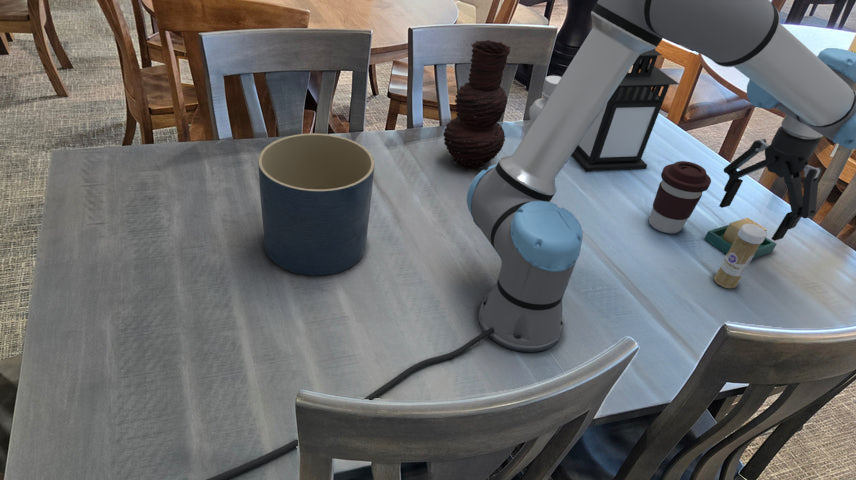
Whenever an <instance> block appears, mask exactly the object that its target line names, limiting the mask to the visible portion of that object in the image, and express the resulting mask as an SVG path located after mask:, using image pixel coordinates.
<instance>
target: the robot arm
mask: <svg viewBox="0 0 856 480" xmlns="http://www.w3.org/2000/svg"><path fill="white" fill-rule="evenodd" d="M590 16H591V21H592V28H591V30H590V32H589V33H588V35H587V36H586V38H585V40H584V41H583V43H582V44H581V45H580V47H579V49H578V50H577V52H576V54H575V55H574V57H573V59H572V60H571V62H570V63H569V65H568V67H567V68H566V70H565V71H564V73H563V74H562V76H561V77H562V78H561V79H560V81H559V82H558V84H557V86H556V87H555V89H554V90H553V92H552V94H551V95H550V97H549V98H548V100H547V102H546V103H545V105H544V106H543V108H542V109H541V111H540V113H539V114H538V116H537V117H536V119H535V121H534V122H533V124H532V125H531V127H530V129H529V130H528V132H527V133H526V135H525V137H524V138H523V137H522V139H523V140H521V141H520V143H519V144H518V146H517V148H516V149H515V151H514V152H513V154H511V155H507V156H503V157H501V158H500V159H499V161H498V162H497V163H496V164H492V165H489V166H487V169H482V170H481V171H480V172H479V173H478V174H477V175H475V177H474V178H473V180H472V182H470V185H469V187H468V190H467V193H466V205H467V209H468V212H469V213H470V215H471V217H472V219H473V222H474V224H475V226H476V227H477V228H479V229H480V231H481V232H482V233H483V235H484V236H485V238H486V239H487V241H488V242H489V244H490V246H491V247H492V248H493V249H494V250H495V252H496V253H497V255H498V257H499V258H500V260H501V264H500V269H499V273H498V278H497V281H496V283H495V284H494V286H493V287H492V288H491V289H490V291H489V292H488V293H487V294H486V296H485V297H484V299H483V300H482V302H481V304H480V308H479V312H478V322H479V326H480V327H481V329H482V333H480V334H479V335H477V336H475V337H474V338H472V339H470V340H469V341H468V342H466V343H465V344H464V345H462V346H460V347H459V348H456V349H455V350H453V351H451V352H448V353H445V354H440V355H438V356H434V357H433V356H432V357H430V358H427V359H424V360H421V361H419V362H417V363H415V364H413V365H411V366H410V367H408V368H407V369H405V370H403V371H402V372H400V373H399V374H397V376H395V377H394V378H392V379H391V380H389V381H388V382H386V383H384V385H381V387H379V388H377V389H376V390H374V391H373V392H372V393H370V394H369V395H367V396H366V397H364V398H363V399H369V400H372V401H373V400H375V399H376V398H377V397H378V398H379V396H380V395H382V394H383V393H385V392H387V391H388V390H390V389H391V388H392V387H394V386H395V385H396V384H398V383H399V382H401V381H402V380H403V379H405V378H406V377H408V376H409V375H411V374H412V373H414V372H415V371H418V370H419V369H422V368H424V367H426V366H429V365H432V364H436V363H439V362H444V361H447V360H450V359H453V358H455V357H457V356H459V355H461V354H463V353H465V351H467V350H469V349H471V347H473V346H474V345H476V344H477V343H479V342H480V341H482V340H483V339H486V338H487V337H488V338H490V340H492V341H493V342H495V343H496V344H498V345H500V346H502V347H504V348H506V349H509V350H511V351H516V352H521V353H538V352H543V351H546V350H549V349H550V348H552V347H554V346H555V345H557V343H558V342H559V340H560V338H561V335H562V332H563V330H564V317H563V298H564V295H565V293H566V290H567V287H568V285H569V282H570V280H571V277H572V274H573V271H574V268H575V266H576V263H577V261H578V258H579V256H580V254H581V247H582V242H583V236H584V234H583V233H584V232H583V229H582V226H581V223H580V222H579V220H578V219H577V217H576V215H574V214H573V213H572V212H570V211H569V209H566V208H565V207H559V206H558V204H556V203H555V202H551V201H552V199H553V198H554V196H555V195H556V194H557V186H556V182H555V181H556V178H557V176H558V175H559V174H560V172H561V171H562V169H563V168H564V167H565V165H566V164H567V162H568V161H569V159H570V158H571V157H572V156H571V155H572V153H573V152H574V150H575V149H576V147H577V146H578V144H579V143H580V141H581V140H582V139H583V137H584V136H585V134H586V133H587V131H588V130H589V128H590V127H591V125H592V124H593V122H594V121H595V119H596V118H597V117H598V115H599V114H600V112H601V111H602V109H603V108H604V106H605V105H606V103H607V102H608V100H609V99H610V98H611V96H612V95H613V93H614V92H615V90H616V89H617V87H618V86H619V84H620V83H621V81H622V80H623V79H624V77H625V76H626V74H627V73H629V72H630V71H631V69H632V68H633V64H634V62H635V61H636V59H637V58H638V57H639V55H640V54H642V53H643V52H646V51H650V50H653V49H655V50H656V49H657V48H658V46H659V45H660V44H661V42H662V41H663V39H665V40H667V41H670V42H673V43H675V44H677V45H680V46H682V47H684V48H687V49H689V50H692V51H694V52H696V53H698V54H700V55H701V56H704V57H706V58H708V59H709V60H711V61H713V63H715V64H716V65H717V66H720V67H724V68H735V69H736V70H737V71H738V72H740V73H741V74H742V75H744V76H745V77H746V78H748V79H749V80H748V82H747V85H746V96H747V100H748V102H749V103H750V104H751V105H752V106H753V107H755V108H758V109H765V110H770V109H771V110H772V109H776V110H778V111H780V112H782V113H784V114H785V115H784V117H783V118H782V120H781V122H780V124H781V126H780V127H778V129H777V130H776V132H775V134H774V135H773V138H772V139H771V142H770V144H769V143H767V139H765V138H761V139H757V140H754V141H753V143H752V144H751V146H750V147H749V148H748V149H747V150H746V151H744V152H743V153H742V154H740V155H739V156H738V157H737V158H736V159H734V160H733V161H732V162H731V163H729V164H728V165H726V166H725V167H724V168H723V173H725V174H727V176H728V180H727V182H726V183H725V186H724V188H723V191H724V192H725V193H724V195H723V198H722V199H721V201H720V203H719V205H718V207H719V208H721V209H723V208H727V207H730V206H731V204H732V202H733V201H734V199H735V197H736V195H737V193H738V191H739V189H740V187H741V186H742V183H743V182H744V180H743V179H742V178H743V177H745V176H747V175H749V174H752V173H754V172H757V171H760V170H762V169H765V168H767V171H768V172H770V173H773V174H775V175H776V176H777V177H779V178H783V182H784V184H786V189H787V194H788V199H789V205H790V210H791V211H789V212H787V213H786V214H785V215H784V217H783V219H782V221H781V222H780V224H779V225H778V227H777V229H776V230H775V232H774V234H773V236H772V237H771V241H773V242H776V241H778V240H782V239H784V237H785V236H786V234H787V232H788V231H789V230H793V229H794V228H796V226H797V225H798V223H800V220H801V219H802V218H803V219H809V218H812V217H814V216H815V215H816V214H817V203H818V202H817V201H818V189H819V179H820V177H821V175H822V173H823V168H822V167H821V166H818V167H815V166H812V165H809V161H810V159H811V157H812V156H813V154H814V152H815V151H816V149H817V148H818V145H819V144H820V142H821V141H822V140H821V138H822V137H825V138H826V139H828V140H830V141H832V142H833V143H834V144H837V145H840V146H841V147H843V148H845V149H848V150H856V90H855V89H854V88H853V87H854V86H855V84H856V52H854V51H851V50H848V49H843V48H838V47H825V48H824V49H822V50H821V51H820V52H819V53H818V54H817V55H816V54H815V53H814V52H813V51H812V50H811V49H809V48H808V47H807V45H805V44H804V43H803V42H801V41H800V40H799V39H798V38H797V37H796V36H795V35H794V34H792V32H790V30H788V29H787V28H786V27H785V26H784V25H783V24H782V23H781V17H780V13H779V10H778V8H777V7H776V6H775V5H774V4H773V3H772V2H771V1H770V0H597V2H596V4H595V5H594V7H593V9H592V10H591V12H590ZM628 71H629V72H628ZM763 152H764V157H765V159H763V160H761V161H758V162H756V163H754V164H752V165H749V166H746V167H744V168H743V169H740V167H742V166H743V165H744V164H746V163H747V162H749V161H750V160H751V159H752V158H754V157H755V156H756V155H759V153H763ZM738 169H739V170H738ZM801 172H804V174H803V177H805V178H804V182H803V189H802V182H801V181H802V174H801ZM297 439H298V438H296V439H294V440H291V441H289V442H288V443H286V444H284V445H283V446H280V447H278V448H275V449H274V450H272V451H270V452H268V453H266V454H264V455H261V456H260V457H257V458H255V459H253V460H250V461H248V462H245V463H243V464H240V465H239V466H236V467H234V468H232V469H230V470H226V471H224V472H222V473H219V474H216V475H215V476H212V477H210V478H209V477H208V478H206V480H227V479H230V478H233V477H234V476H238V475H239V474H242V473H244V472H246V471H249V470H251V469H253V468H256V467H257V466H260V465H262V464H264V463H266V462H268V461H271V460H273V459H275V458H277V457H279V456H280V455H283V454H284V453H286V452H289V451H290V450H292V449H295V448H296V447H298V446H299V445H298V440H297Z"/></svg>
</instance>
